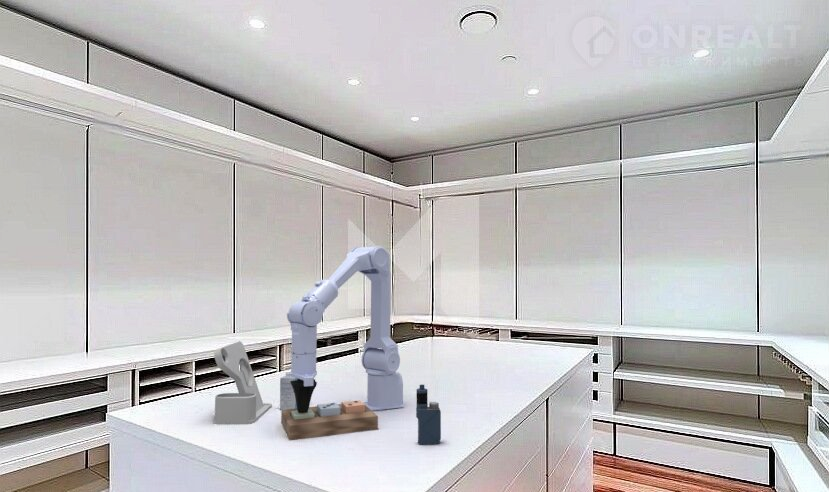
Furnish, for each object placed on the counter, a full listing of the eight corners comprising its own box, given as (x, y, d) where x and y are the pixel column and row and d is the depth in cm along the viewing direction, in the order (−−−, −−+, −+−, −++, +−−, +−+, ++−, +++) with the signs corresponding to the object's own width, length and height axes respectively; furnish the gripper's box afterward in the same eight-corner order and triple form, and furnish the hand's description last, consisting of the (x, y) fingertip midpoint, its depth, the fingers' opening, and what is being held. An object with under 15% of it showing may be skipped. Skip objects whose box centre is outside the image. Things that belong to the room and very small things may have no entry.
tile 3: (335, 411, 115) (335, 402, 115) (340, 415, 111) (340, 406, 111) (316, 413, 113) (317, 403, 113) (320, 418, 109) (320, 408, 109)
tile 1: (310, 417, 112) (311, 408, 113) (314, 422, 108) (314, 413, 108) (291, 419, 111) (291, 410, 111) (294, 425, 106) (294, 415, 107)
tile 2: (359, 408, 117) (359, 399, 117) (364, 413, 113) (365, 404, 113) (341, 410, 115) (341, 401, 115) (346, 415, 111) (346, 406, 111)
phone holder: (252, 424, 113) (254, 348, 114) (209, 424, 113) (212, 348, 114) (273, 405, 130) (274, 339, 131) (236, 406, 130) (238, 340, 131)
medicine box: (294, 411, 125) (295, 377, 125) (279, 410, 126) (279, 377, 126) (307, 403, 132) (307, 372, 133) (292, 402, 133) (293, 371, 134)
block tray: (360, 413, 122) (360, 401, 122) (377, 429, 109) (377, 415, 109) (281, 422, 114) (281, 409, 114) (289, 440, 101) (289, 425, 101)
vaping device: (415, 441, 101) (415, 383, 102) (440, 440, 101) (439, 383, 102) (416, 445, 98) (416, 386, 99) (441, 444, 99) (441, 385, 100)
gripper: (282, 349, 116) (281, 406, 115) (290, 358, 102) (289, 422, 101) (311, 348, 118) (310, 403, 117) (323, 356, 105) (322, 418, 104)
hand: (302, 412), depth 110 cm, fingers closed, pressing on tile 1
